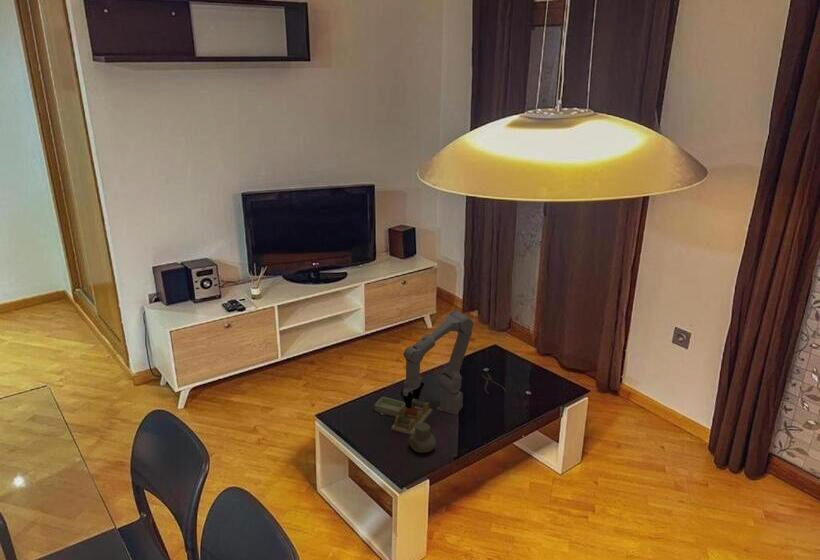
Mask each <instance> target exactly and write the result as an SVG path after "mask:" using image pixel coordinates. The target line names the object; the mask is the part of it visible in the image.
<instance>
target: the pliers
mask: <svg viewBox="0 0 820 560" xmlns="http://www.w3.org/2000/svg"><path fill="white" fill-rule="evenodd" d="M480 375H481V377H482V379H483V380H484V381H485V385H484V391H485V393H486V394H487V395H490V393H489V392H488V391H487V390H488V389H487V387H488V385H489V382H491V383H492V384H494V385H496V386H499V387H500V388H501V389H502V390H503V391H504V393H507V389H506V388H505V387H504V386H503V385H502V384H499V383H498V382H496V381H494V380H493V378H492V375H491V374H490V373H488V372H486V375H487V376H486V375H485V374H484V373H483V372H481V374H480Z"/></svg>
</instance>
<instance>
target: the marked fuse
mask: <svg viewBox="0 0 820 560" xmlns="http://www.w3.org/2000/svg"><path fill="white" fill-rule="evenodd" d="M403 412H405V414H409V415H413V416H416V415H418V417H419V418H420V417H421V415H422V411H420V410H415V409H411V408H407V407H404V408H403Z"/></svg>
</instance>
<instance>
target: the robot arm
mask: <svg viewBox="0 0 820 560" xmlns="http://www.w3.org/2000/svg"><path fill="white" fill-rule="evenodd" d="M474 324H475V323H474V321H473V320H472V318H471V317H468V316H466V315H465V314H463V313H461V312H460V311H458V310H452V311H451V312H450V313H449V314H448V315H446V317H445V320H444V321H443V322H442V323H441V324H440V325H439V326H438V327H437V328H436V329H435V330H434V331H433V332H432V333H431V334H425V335H423V336H422V337H421V338H420V339H419V340H418V341H417V342H415V343H414V344H413V345H410V346H407V347H405V348H404V349H405V350H404V351H403V354H402V355H403V357H404V359H405V380H404V381H403V382H402V383H403V385H404V390H402V391H401V392H400V396H401V397H402V399H403V402H405V405H406V407H407V408H411V406H412V400H413V399H416V400H417V401H419V399H420V396H421V392H422V390H423V388H424V386H425V383H424V382H422V381H423V376H421V375H420V374H421V362H422V361H423V359H424V357H425V355H426V353H428V352H429V351H430V350H432V349H433V348H434V347H435V346H436V342H437V341H439V340H440V339H441V338H443V337H444V336H445V335H446V334H448V333H449V332H456V333H457V337H456V340H455V342H454V345H453V348H452V351H451V356H450V358H449V361H448V364H447V366H446V367H444V368H443V369H442V370H441V372H440V374H439V375H438V378H437V383H438V385H439V388H440V401H439V403H440V404H439V405H438V406H437V408H436V410H437V411H441V412H445V413H449V414H453V415H458V414H459V412H460V411H461V410H462V408H463V407H464V403H463V402H464V393H463V392H462V391H460V390H461V387H462V379H463V378H462V374H461V372H460V370H461V367H462V364H463V361H464V358H465V356H466V353H467V350H468V346H469V342H470V341H471V337H472V334H473V328H474Z"/></svg>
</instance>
